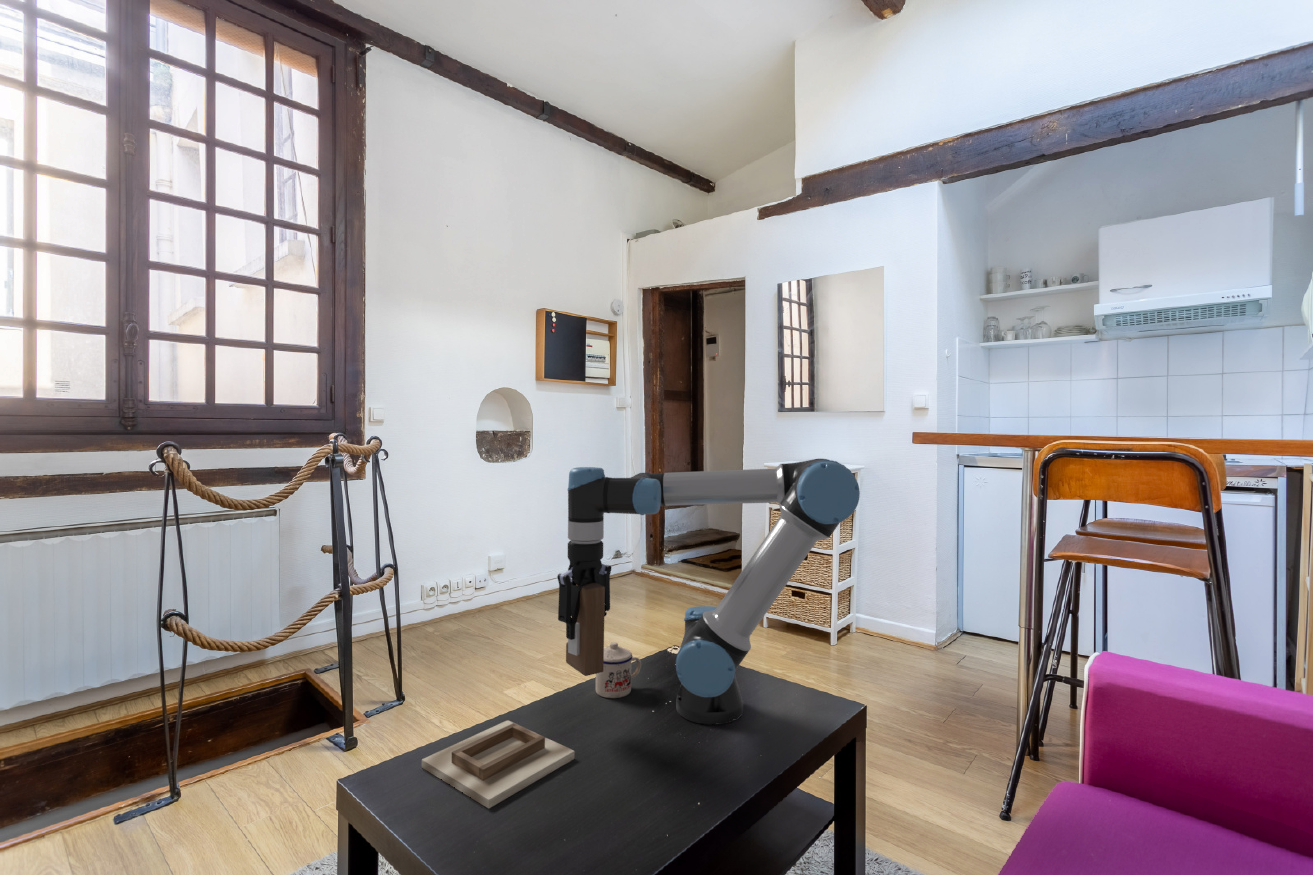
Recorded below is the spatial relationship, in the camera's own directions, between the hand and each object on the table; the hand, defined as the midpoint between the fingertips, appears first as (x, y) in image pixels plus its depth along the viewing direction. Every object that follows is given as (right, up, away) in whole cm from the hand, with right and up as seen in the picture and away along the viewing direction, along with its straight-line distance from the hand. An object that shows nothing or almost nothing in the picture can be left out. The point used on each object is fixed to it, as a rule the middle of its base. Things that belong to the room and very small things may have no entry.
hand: (584, 649), depth 130 cm
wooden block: (0, -4, 0) cm, 4 cm away
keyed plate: (-15, -17, -14) cm, 26 cm away
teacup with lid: (+6, -17, +20) cm, 27 cm away
